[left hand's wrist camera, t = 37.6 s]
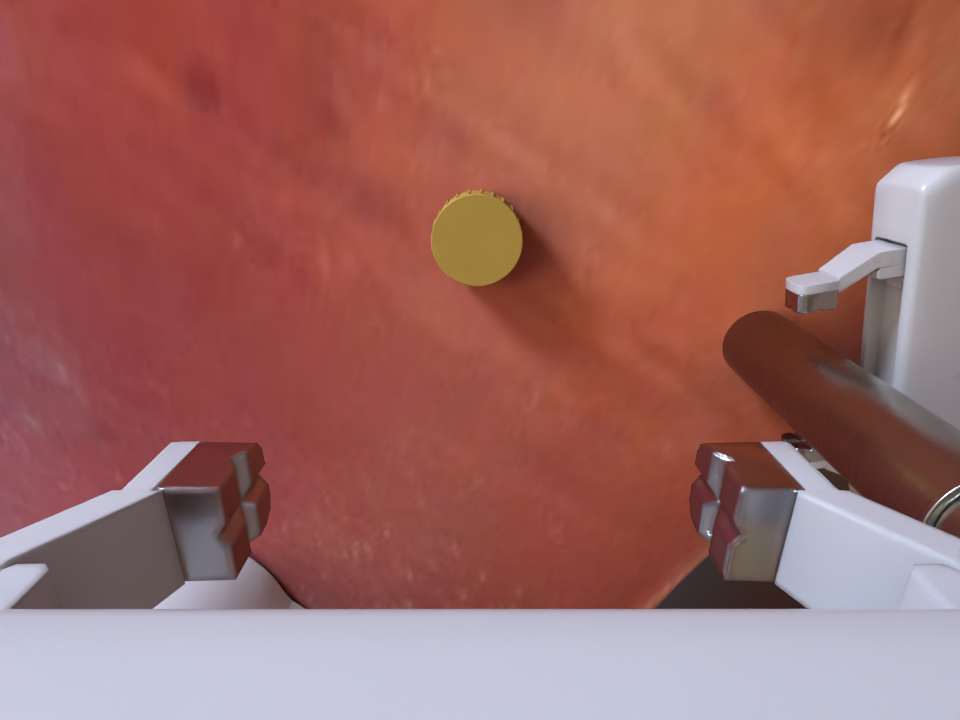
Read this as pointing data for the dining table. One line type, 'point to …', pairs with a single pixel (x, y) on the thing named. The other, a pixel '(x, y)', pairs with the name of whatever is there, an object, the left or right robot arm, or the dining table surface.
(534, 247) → the dining table surface
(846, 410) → the grey metal cylinder
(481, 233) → the lid
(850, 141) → the dining table surface
